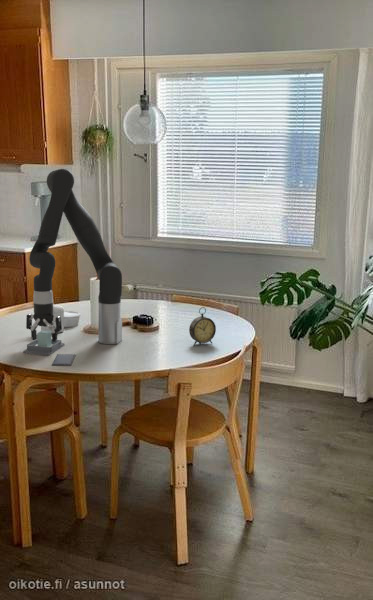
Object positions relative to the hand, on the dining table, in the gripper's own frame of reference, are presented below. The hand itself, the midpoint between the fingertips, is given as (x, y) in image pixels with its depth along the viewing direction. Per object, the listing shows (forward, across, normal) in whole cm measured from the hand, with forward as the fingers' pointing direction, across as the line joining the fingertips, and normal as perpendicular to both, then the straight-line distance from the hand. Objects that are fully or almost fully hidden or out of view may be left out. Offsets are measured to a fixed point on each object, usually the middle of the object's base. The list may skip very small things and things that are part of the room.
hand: (44, 340), depth 236 cm
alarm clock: (+4, -59, -27) cm, 65 cm away
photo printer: (+4, +7, -22) cm, 23 cm away
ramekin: (+4, +6, -36) cm, 37 cm away
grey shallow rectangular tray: (+4, 0, 0) cm, 4 cm away
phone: (+4, -13, +10) cm, 17 cm away
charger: (+3, 0, 0) cm, 3 cm away
